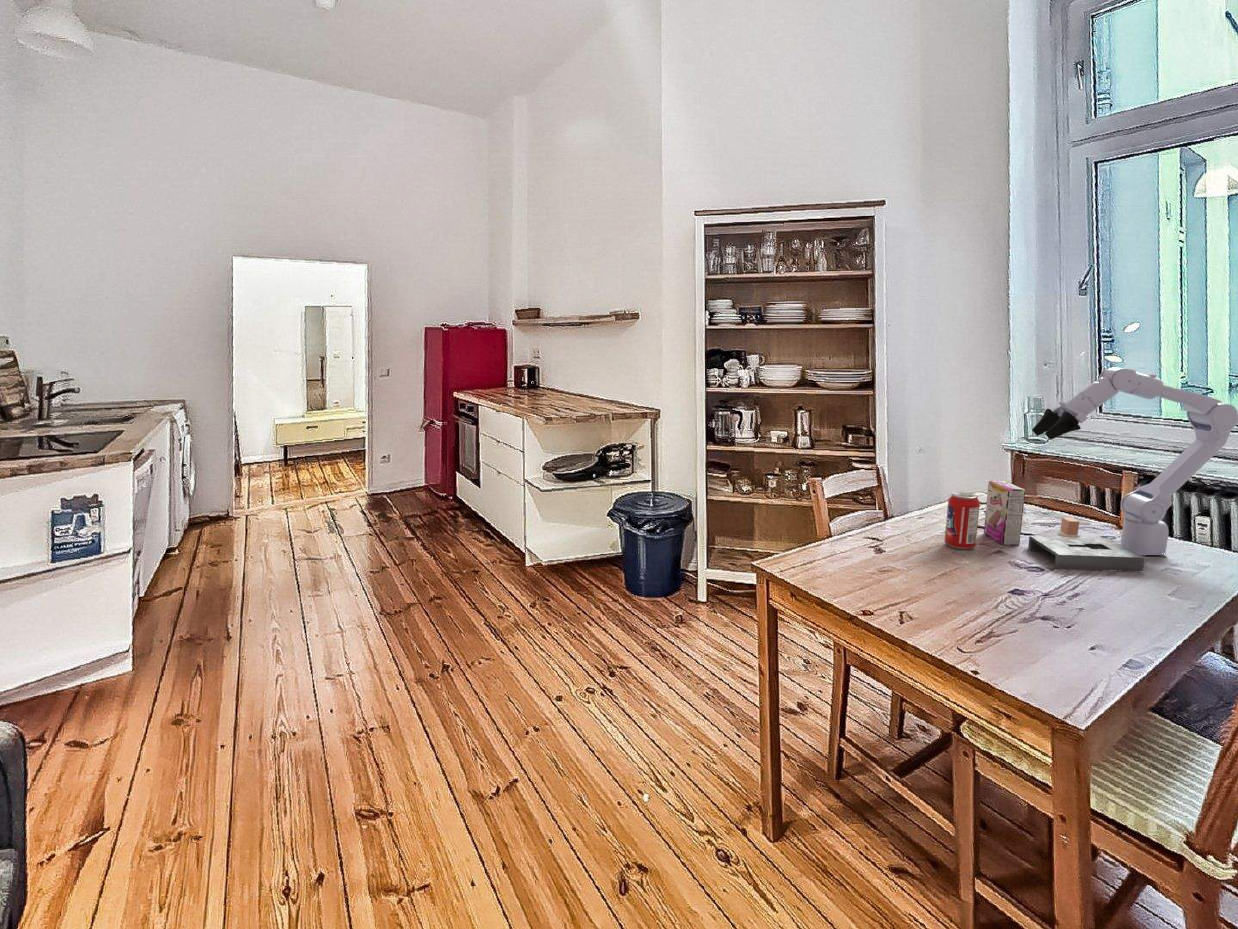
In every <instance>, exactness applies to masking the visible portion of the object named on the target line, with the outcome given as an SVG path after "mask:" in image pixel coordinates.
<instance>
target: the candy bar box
mask: <svg viewBox="0 0 1238 929" xmlns="http://www.w3.org/2000/svg"><path fill="white" fill-rule="evenodd" d="M986 496H987V497H986V508H985V514H984V515H985V517H984V526H983V527H984V528H983V534H984V535H986V536H987V537H989V538H990V539H993V540H994V541H996V542H997V543H999V544H1001V545H1002V546H1020V541H1021V535H1022V534H1021V533H1022V523H1023V515H1024V508H1025V507H1024V506H1025V499H1026V498H1025V497H1026V489H1025V488H1023V487H1020V486H1018V485H1015V484H1013V483H1011V482H1008V481H1006V480H989V481H988V485H987V495H986Z"/></svg>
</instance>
